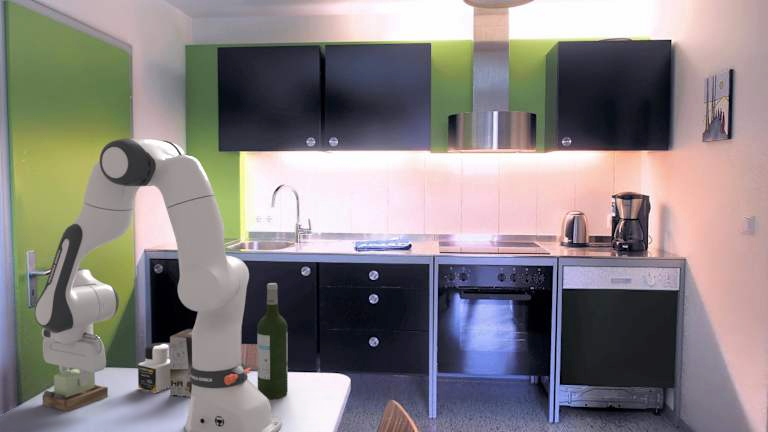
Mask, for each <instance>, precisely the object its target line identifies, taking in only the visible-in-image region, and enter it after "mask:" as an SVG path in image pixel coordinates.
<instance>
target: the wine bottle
mask: <svg viewBox="0 0 768 432" xmlns="http://www.w3.org/2000/svg"><path fill="white" fill-rule="evenodd" d="M278 289H279V288H278V283H276V282H270V283H267V285H266V290H267V291H266V312H265V315H264V316H263V317H261V319H260V320H259V321H258V324H257V326H256V327H257V331H256V332H257V334H256V335H257V336H256V337H257V389H258V390H259V391H260V392H261V393H262V394H263V395H264V396H266V397H267V398H268V400H279V399H281V398H285V396H287V394H288V389H289V388H288V386H289V385H288V378H289V377H288V374H289V373H288V323H287V321H286V319H285V318H284V317H283V316H282V315H281V314H280V312H279V303H278V301H279V299H278Z"/></svg>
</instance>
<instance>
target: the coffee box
mask: <svg viewBox="0 0 768 432" xmlns="http://www.w3.org/2000/svg"><path fill="white" fill-rule="evenodd" d="M192 331H193V328H187V329H185V330H182V331H179V332H177V333H175V334H172V335H171V336H170V335H169V336H170V337H169V359H170V388H169V395H170V396H173V395H177V396H176V397H183V396H186V397H185V398H190V397H191V390H192V383H191V382H190V367H191V365H192Z"/></svg>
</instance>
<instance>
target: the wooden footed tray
mask: <svg viewBox="0 0 768 432" xmlns="http://www.w3.org/2000/svg"><path fill="white" fill-rule="evenodd" d="M108 389H109V388H108V387H107V386H103V385H98V384H95V388H92V389H89V390H86V391H83V392H80V393H78V394H75V395H72V396H69V397H65V396H64V395H61V394H57V393H56V394H55V395H54V390H53V391H50V390H45V391H44V392H43V394H42V405H43V406H46V407H51V408H54V409H57V410H62V411H64V412H70V411H73V410H75V409H79V408H82V407H84V406H86V405H90V404H92V403H94V402H97V401H100V400H102V399H105V398H108V395H109V393H108V392H109V390H108Z"/></svg>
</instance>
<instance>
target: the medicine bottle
mask: <svg viewBox="0 0 768 432" xmlns="http://www.w3.org/2000/svg"><path fill="white" fill-rule="evenodd" d="M144 350H145V351H144V352H145V353H144V356H145V357H144V359H145V361H143V362H140V363H138V364H137V376H138V377H137V380H138V381H137V382H138V383H137V384H138V385H137V386H138V389H139V388H140V389H139V390H142V389H145V390H148V391H147V392H149V391H152V392H151V393H153V392H157V393H159V392H158V391H160V392H162V391H164V390H163V389H165V388H168V387H170V345H168V344H167V343H165V342H155V343H151V344H149V345H147V346H145V348H144ZM168 389H169V388H168ZM145 390H144V391H145ZM161 390H162V391H161ZM165 390H166V389H165Z"/></svg>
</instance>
